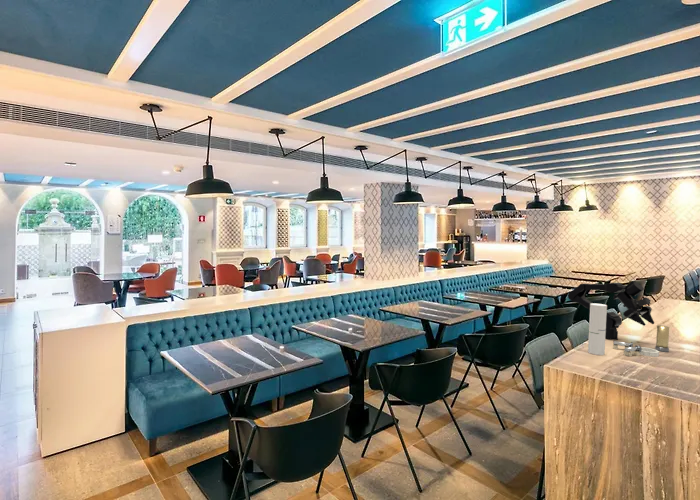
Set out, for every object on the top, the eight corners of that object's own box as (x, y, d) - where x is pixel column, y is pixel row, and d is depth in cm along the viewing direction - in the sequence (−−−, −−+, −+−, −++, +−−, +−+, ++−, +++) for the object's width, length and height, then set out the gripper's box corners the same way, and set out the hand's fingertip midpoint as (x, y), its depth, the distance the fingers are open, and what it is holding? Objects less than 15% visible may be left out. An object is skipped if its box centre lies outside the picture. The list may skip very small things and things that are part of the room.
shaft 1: (632, 350, 202) (632, 341, 202) (632, 351, 200) (632, 343, 200) (613, 347, 207) (613, 339, 207) (613, 348, 205) (613, 340, 205)
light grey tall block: (607, 355, 192) (609, 306, 191) (591, 354, 194) (593, 305, 193) (600, 351, 199) (603, 303, 198) (585, 350, 201) (587, 303, 200)
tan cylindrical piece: (652, 349, 205) (654, 325, 204) (658, 348, 207) (659, 324, 207) (665, 352, 200) (666, 328, 199) (670, 351, 202) (672, 327, 202)
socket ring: (641, 355, 194) (641, 351, 194) (632, 350, 203) (632, 346, 203) (663, 357, 192) (663, 353, 192) (652, 351, 201) (652, 348, 201)
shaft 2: (635, 353, 197) (635, 344, 197) (641, 355, 194) (642, 346, 194) (623, 354, 195) (623, 345, 194) (629, 356, 192) (629, 347, 191)
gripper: (630, 293, 209) (653, 317, 199) (648, 291, 217) (671, 314, 208) (614, 305, 216) (635, 329, 207) (632, 303, 224) (653, 326, 215)
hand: (649, 324), depth 209 cm, fingers open, 9 cm apart
